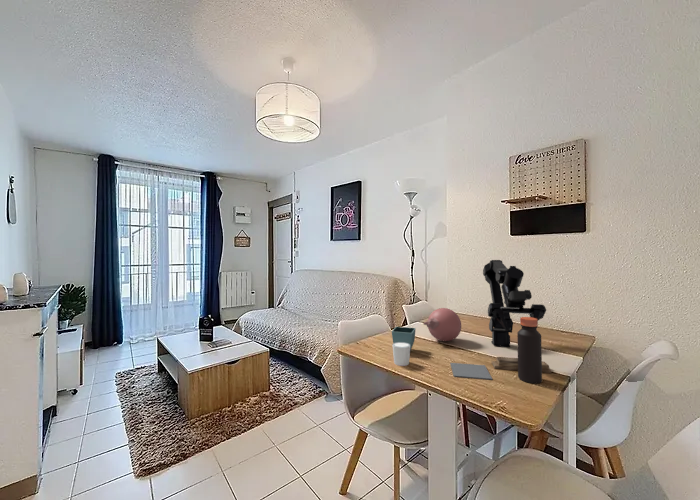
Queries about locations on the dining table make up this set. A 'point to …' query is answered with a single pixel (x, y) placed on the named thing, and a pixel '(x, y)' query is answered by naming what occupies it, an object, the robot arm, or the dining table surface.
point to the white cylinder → (401, 353)
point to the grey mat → (470, 371)
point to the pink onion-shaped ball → (444, 324)
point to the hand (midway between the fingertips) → (521, 330)
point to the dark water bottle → (529, 351)
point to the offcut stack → (514, 364)
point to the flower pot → (403, 335)
